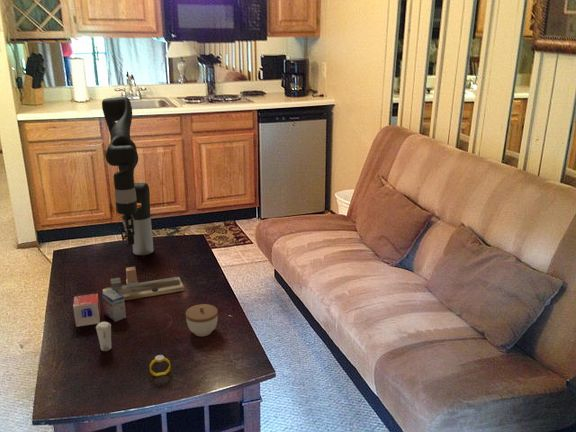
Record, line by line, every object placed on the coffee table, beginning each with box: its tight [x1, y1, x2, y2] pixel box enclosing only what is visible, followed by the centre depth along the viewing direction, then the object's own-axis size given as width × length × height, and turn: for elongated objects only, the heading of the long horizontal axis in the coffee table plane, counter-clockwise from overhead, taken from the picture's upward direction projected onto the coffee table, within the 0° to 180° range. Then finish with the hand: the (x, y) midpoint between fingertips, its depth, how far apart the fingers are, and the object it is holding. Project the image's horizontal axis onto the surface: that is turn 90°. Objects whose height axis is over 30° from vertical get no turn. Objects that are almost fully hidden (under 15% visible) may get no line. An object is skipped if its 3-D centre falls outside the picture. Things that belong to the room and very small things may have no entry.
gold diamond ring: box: [149, 354, 172, 377], centre depth 153 cm, size 6×3×6 cm, turn 108°
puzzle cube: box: [72, 293, 101, 328], centre depth 183 cm, size 8×8×8 cm
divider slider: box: [125, 265, 139, 291], centre depth 202 cm, size 4×4×9 cm
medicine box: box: [101, 290, 127, 323], centre depth 185 cm, size 8×4×9 cm, turn 47°
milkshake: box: [95, 321, 112, 352], centre depth 165 cm, size 4×5×10 cm
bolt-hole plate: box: [102, 276, 185, 302], centre depth 204 cm, size 10×30×6 cm, turn 112°
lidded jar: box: [185, 303, 219, 337], centre depth 175 cm, size 11×11×9 cm
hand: (130, 240), depth 197 cm, fingers open, 8 cm apart
